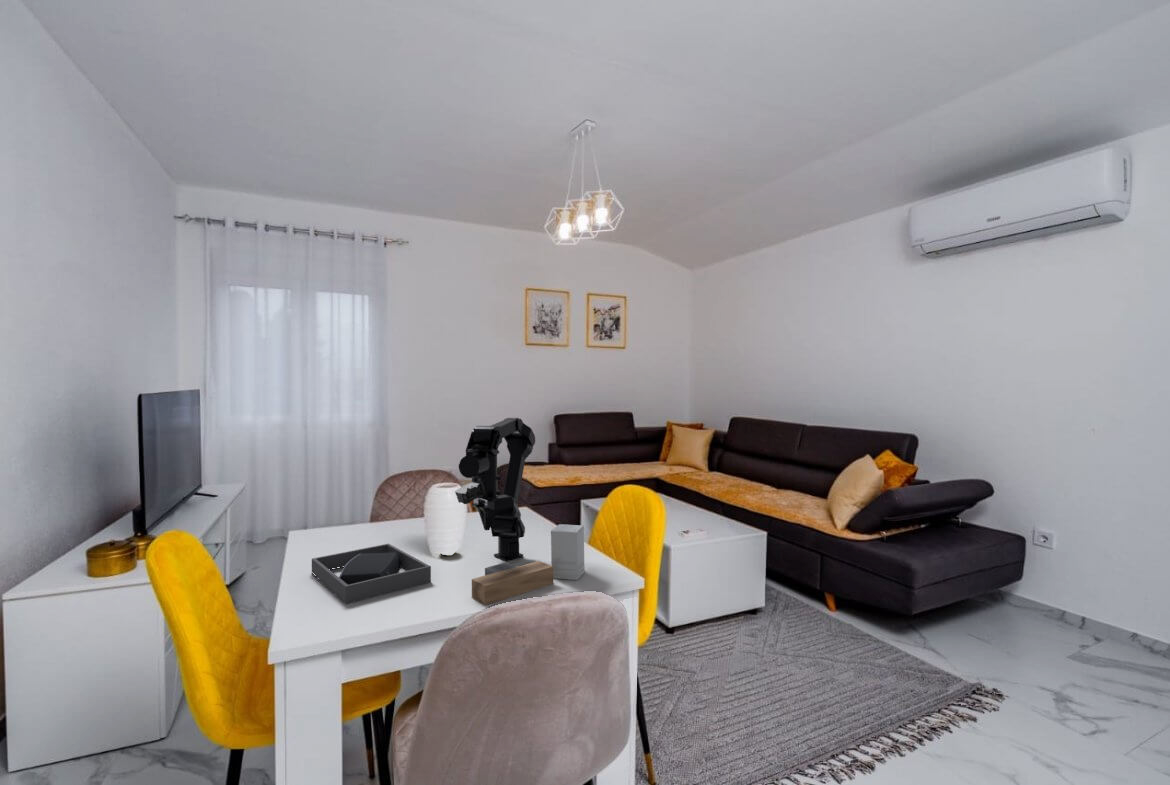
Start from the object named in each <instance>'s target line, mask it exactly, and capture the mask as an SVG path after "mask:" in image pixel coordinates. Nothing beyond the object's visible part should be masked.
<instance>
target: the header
mask: <svg viewBox="0 0 1170 785" xmlns="http://www.w3.org/2000/svg"><path fill="white" fill-rule="evenodd" d="M551 585H554V578H553V566H552V564H548V563H546V562H543V561H540V560H537V561H534V562H531V563H527V564H523V565H519V566H516V567H515V568H511V569H507V570H503V571H500V572H496V573H492V574H489V575H485V574H484V575H482V576H478V577H475V578H471V598H472V599H474V600H475V601H476V602H479V603H481V604H482V605H484V606H486V605H489V604H492V603H493V604H494V603H496V602H498V601H502V600H506V599H509V598H512V597H515V596H518V595H522V594H524V593H527V592H531V591H534V590H539V589H541V588H544V587H547V586H551Z"/></svg>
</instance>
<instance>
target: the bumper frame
mask: <svg viewBox="0 0 1170 785" xmlns="http://www.w3.org/2000/svg"><path fill="white" fill-rule="evenodd" d="M392 552H395V553H396V554H397V556H398V558H399V562H400V566H399V567H401V568H403V569H405V571H401V572H396V573H395V574H392V575H388V576H383V577H379V578H375V579H371V580H366V581H362V582H358V583H354V584H349V585H348V584H346V583H345V582H344V581H343V580H341V579H340V578H339V575H337V574H335V573H334V572H332V571H333V570H329V569H332V568H337V567H342V566H345V565H346V564H347V563H348V562H349V561H350V560H351V559H352V558H354V557H355V556H357V555H359V554H370V553H392ZM312 572H313V573H314V574H315V575H316V576H317V577H318V578H319V579H320V580H321V581H322V582H323V583H324V584H325V585H326V586H327V587H328V589H329V591H331V592H332V593H333V594H334V593H335V594H336V595H337V596H338V598H339V600H341V602H343V603H344V604H345V605H347V604H349V603H350V604H351V603H354V602H358V601H362V600H366V599H369V598H374V597H378V596H381V595H385V594H390V593H394V592H397V591H402V590H406V589H409V588H413V587H416V586H420V585H424V584H428V583H431V581H432V573H431V572H432V567H431V565H429V564H427V563H425V562H424V561H422V560H419V559H418V558H416V557H414V556H413V555H411V554H409V553H407V552H405V551H403V550H402V549H399V548H398V547H396V546H394V545H392V544H390V543H384V544H379V545H376V546H371V547H370V546H369V547H363V548H359V549H354V550H350V551H349V550H348V551H344V552H340V553H334V554H329V555H324V556H320V557H314V558H311V573H312ZM319 579H318V580H319ZM320 580H319V581H320ZM321 581H320V582H321ZM322 582H321V583H322ZM323 583H322V584H323ZM324 584H323V585H324ZM325 585H324V586H325ZM326 586H325V587H326ZM335 594H334V595H335ZM336 595H335V596H336ZM337 596H336V597H337Z"/></svg>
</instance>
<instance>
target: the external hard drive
mask: <svg viewBox="0 0 1170 785" xmlns="http://www.w3.org/2000/svg"><path fill="white" fill-rule="evenodd" d="M399 565H400V562H399V558H398V556H397V554H396V553H395V552H392V553H370V554H359V555H357V556H355V557H354V558H352V559H351V560H350V561H349V562H348V563H347V564H346V565H345V566H344V568H341V569H342V570H341V572H340V574H339V575H338V577H339V578H340V579H341V580H343V581H344V582H345V583H346V584H348V585H349V584H354V583H358V582H362V581H366V580H371V579H375V578H379V577H383V576H388V575H392V574H396V573H398V572H397V571H398V570H399V567H400V566H399Z"/></svg>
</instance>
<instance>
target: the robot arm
mask: <svg viewBox="0 0 1170 785" xmlns="http://www.w3.org/2000/svg"><path fill="white" fill-rule="evenodd" d="M503 439H504V440H505V442H506V448H507V450H508V453H509V461H508V467H507V470H506V476H505V481H504V486H503V492H502V494H501V490H498V481H499V480H501V475H498V454H500V451H499V447H500V445H501V444H502V443H503ZM535 445H536V434H534V431H533V429H532V428H531V427H530V426H529V425H527V424H526V423H524V422H523V420H522V419H521V418H519V417H506V418H504V419H503V420H501V421H499V422H496V423H493V424H491V425H476V426H474V427H473V429H472V431H471V432H470V435H469V439H468V441H467V445H466V448H465V455H464V456H463V457H462V458H461V459H460V461H459V462H458V463H459V464H458V470H459V473H460V474H461V476H462V477H464V478H466V479H471V482H469V483H467V484H465V485H462V486H461V487H460V488H458V489H456V490H455V491H454V493H455V496H456V498H457V502H458V503H459V504H460V503H463V505H468V504H471V506H472V507H473V508H475V509H476V510H477V511H478V514H479V517H480V520H481V524H482V525H483V529H484V531H491V537H493V538H494V537H496V538H497V537H498V538H497V541H498V542H497V544H498V548H497V552H498V553H497V552H496V553H494V554H493V556H494V557H495V558H498V559H500V560H502V561H510V560H514V559H518V558H522V557H524V554H523V553H520V538H523V537H525V533H526V527H525V525H524V522H523V520H522V519H521V518H522V513H521V511H520V508H519V506H518V501H519V496H520V491H521V486H522V485H521V484H522V480H523V475H524V474H523V473H524V467H525V462H526V459H527V458H528V457H529V456H530V455H531V454H532V452H533V449H534V446H535ZM472 501H473V503H471V502H472Z"/></svg>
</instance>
